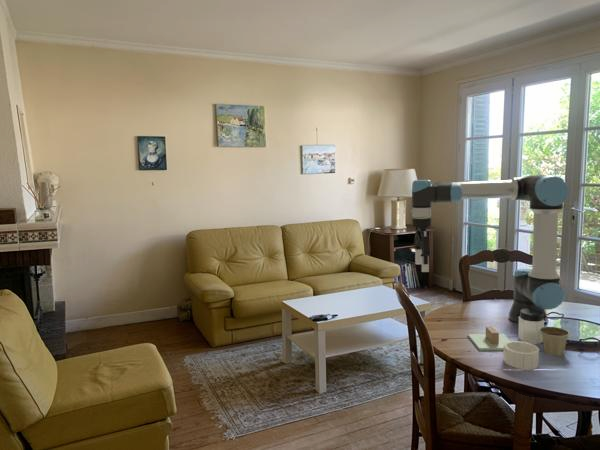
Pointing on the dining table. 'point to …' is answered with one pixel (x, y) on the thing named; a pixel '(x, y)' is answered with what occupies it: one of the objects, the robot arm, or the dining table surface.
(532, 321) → the jar
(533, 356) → the bowl
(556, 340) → the flower pot
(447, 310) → the dining table surface
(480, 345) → the lid
